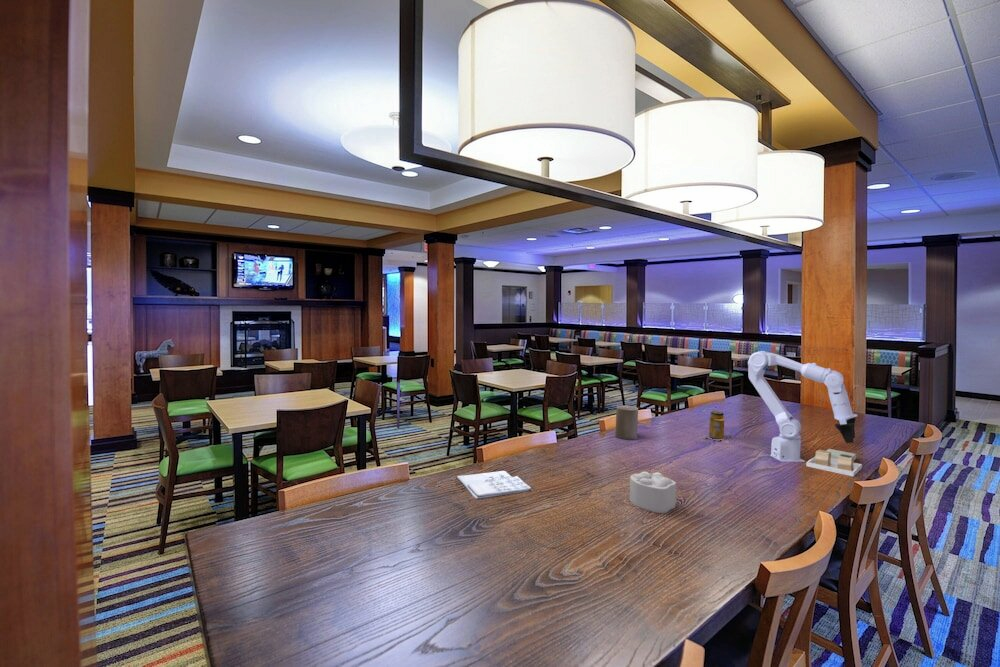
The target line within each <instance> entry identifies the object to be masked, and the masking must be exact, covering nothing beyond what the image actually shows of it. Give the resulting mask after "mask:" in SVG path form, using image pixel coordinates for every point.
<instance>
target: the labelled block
mask: <svg viewBox="0 0 1000 667" xmlns="http://www.w3.org/2000/svg"><path fill="white" fill-rule="evenodd" d="M854 463H855V460H854V456H849V455H844V454H840V455H839V456H838V467H837V468H838V469H842V470H847V471H853V468H854Z"/></svg>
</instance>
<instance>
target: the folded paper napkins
mask: <svg viewBox="0 0 1000 667" xmlns="http://www.w3.org/2000/svg"><path fill="white" fill-rule="evenodd" d="M456 478H457V479H458V480H459V481H460V483H462V484H463V486H464V487H465V488H466V490H467V491H468V492H469V493H470V495H471V496H472V497H473V498H474V499H475V500H477V499H478V500H479V499H484V498H490V497H497V496H504V495H510V494H516V493H517V494H518V493H521V492H522V493H525V492H529V491H530V490H531V489H532V487H531V486H529V485H528V484H527V483H526V482H524V480H522V479H521V478H520V477H519V476H518V475H516V476H512V475H510V474H509V473H508V472H507V471H506V470H499V471H492V472H491V471H490V472H483V473H474V474H467V475H466V474H464V475H457V477H456Z"/></svg>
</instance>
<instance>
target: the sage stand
mask: <svg viewBox="0 0 1000 667" xmlns="http://www.w3.org/2000/svg"><path fill="white" fill-rule="evenodd" d="M825 451H829V452H831V458H833V459H838V456H839V455H840V454H844V455H849V456H854V461H855V460H856V459H857V453H854V452H847V451H843V450H838V449H837V450H836V449H832V448H828V449H827V450H825Z"/></svg>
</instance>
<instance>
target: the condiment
mask: <svg viewBox="0 0 1000 667" xmlns="http://www.w3.org/2000/svg"><path fill="white" fill-rule="evenodd" d="M724 417H725V416H724V412H721V411H717V410H716V411H711V412H710V417H709V432H708V436H709V437H710V438H712V439H723V437H724V438H725V418H724ZM706 437H707V436H705V437H703V439H705V438H706Z"/></svg>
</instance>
